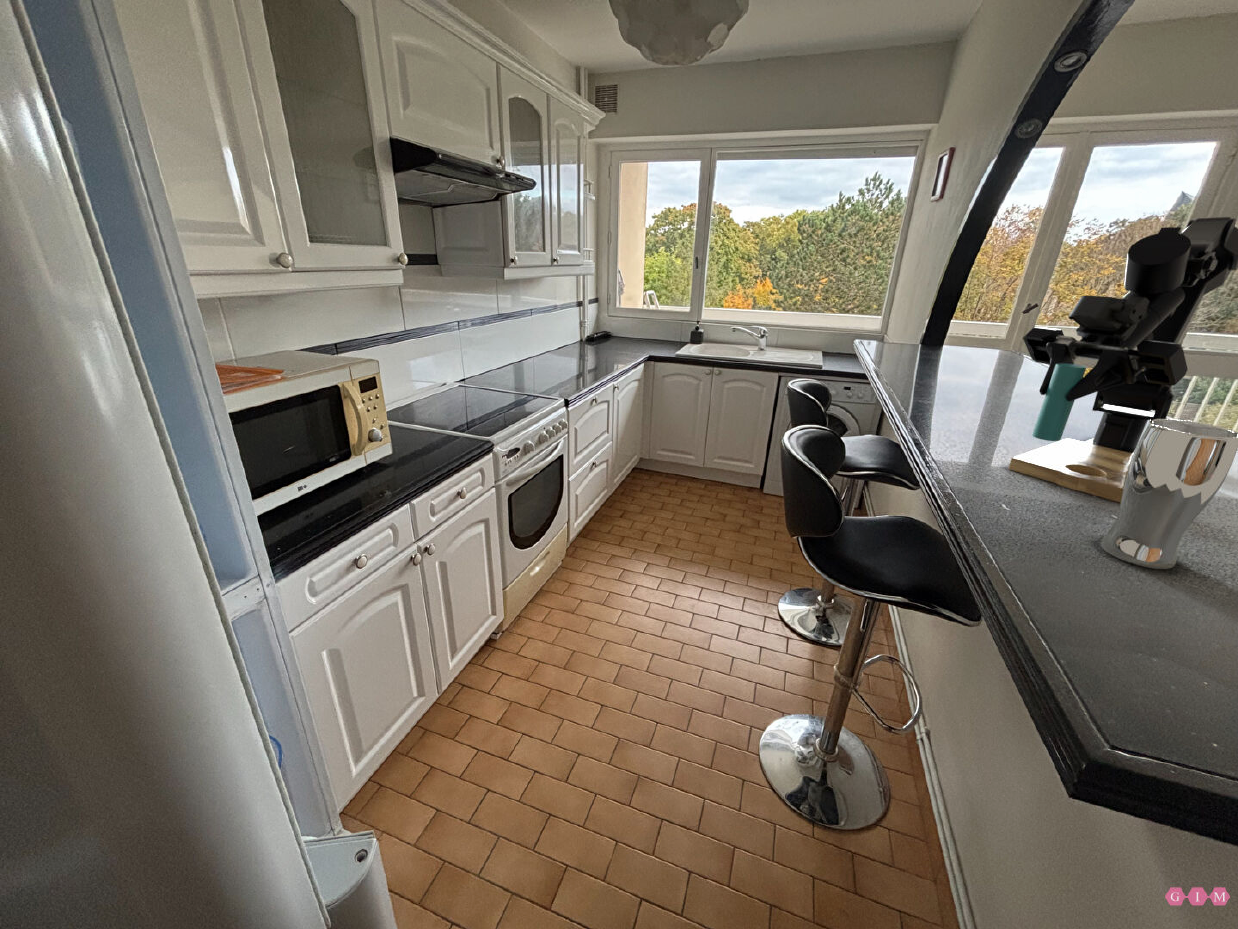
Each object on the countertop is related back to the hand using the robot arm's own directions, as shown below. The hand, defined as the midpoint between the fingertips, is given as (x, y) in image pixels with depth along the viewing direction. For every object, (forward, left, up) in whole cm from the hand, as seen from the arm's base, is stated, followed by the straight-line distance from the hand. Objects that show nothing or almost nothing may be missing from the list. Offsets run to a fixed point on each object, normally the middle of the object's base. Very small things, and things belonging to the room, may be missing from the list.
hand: (1053, 395), depth 74 cm
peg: (-1, 0, -7) cm, 7 cm away
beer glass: (+16, +18, -13) cm, 27 cm away
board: (-10, +5, -12) cm, 16 cm away
